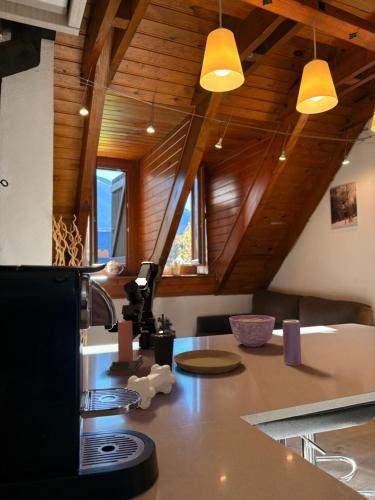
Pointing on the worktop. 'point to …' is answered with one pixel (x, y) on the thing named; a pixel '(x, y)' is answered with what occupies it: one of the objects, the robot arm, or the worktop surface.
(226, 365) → the plant saucer
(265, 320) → the bowl of food
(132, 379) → the bone shaped toy
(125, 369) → the press track
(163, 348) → the drinking cup
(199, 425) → the worktop surface
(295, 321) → the beverage can
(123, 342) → the post
